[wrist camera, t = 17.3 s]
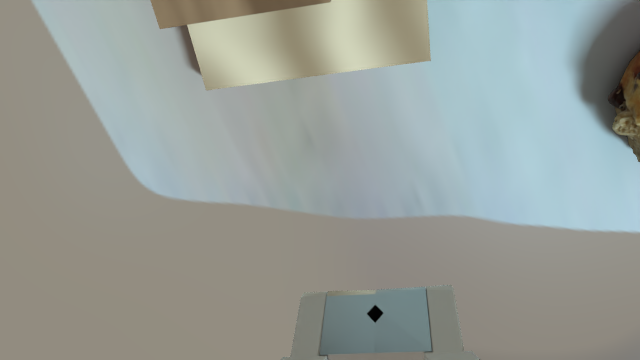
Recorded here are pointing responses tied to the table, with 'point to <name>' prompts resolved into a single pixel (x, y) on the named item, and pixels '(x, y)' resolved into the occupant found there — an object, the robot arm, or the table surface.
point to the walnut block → (217, 9)
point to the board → (311, 41)
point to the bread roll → (628, 105)
